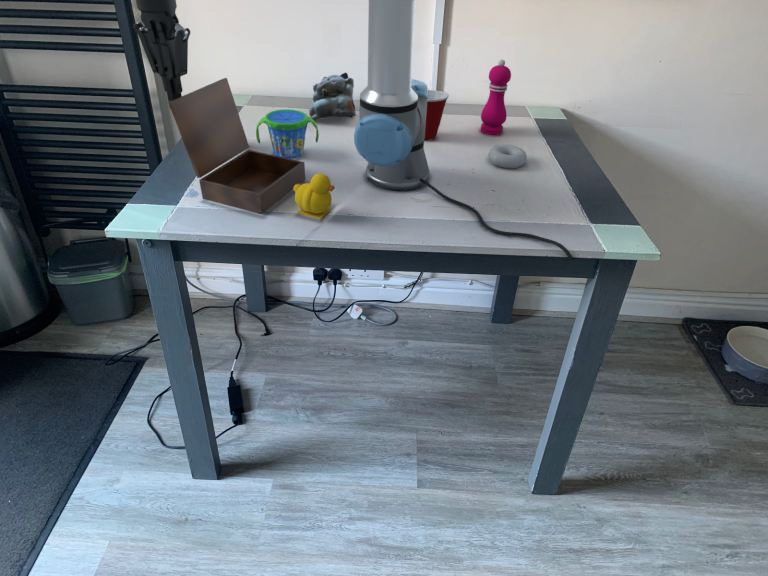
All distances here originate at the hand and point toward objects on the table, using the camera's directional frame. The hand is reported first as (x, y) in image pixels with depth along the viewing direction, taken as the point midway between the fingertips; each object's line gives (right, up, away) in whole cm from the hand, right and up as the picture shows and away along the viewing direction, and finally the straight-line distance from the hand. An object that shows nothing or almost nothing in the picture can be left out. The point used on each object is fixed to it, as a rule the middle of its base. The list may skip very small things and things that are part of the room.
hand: (176, 107), depth 123 cm
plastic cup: (+58, +7, +30) cm, 66 cm away
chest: (+17, -18, +4) cm, 25 cm away
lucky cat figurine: (+30, +11, +43) cm, 54 cm away
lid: (+9, -5, -1) cm, 10 cm away
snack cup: (+21, -6, +21) cm, 31 cm away
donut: (+78, -8, +22) cm, 81 cm away
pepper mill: (+77, +5, +38) cm, 86 cm away
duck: (+31, -24, -3) cm, 39 cm away
